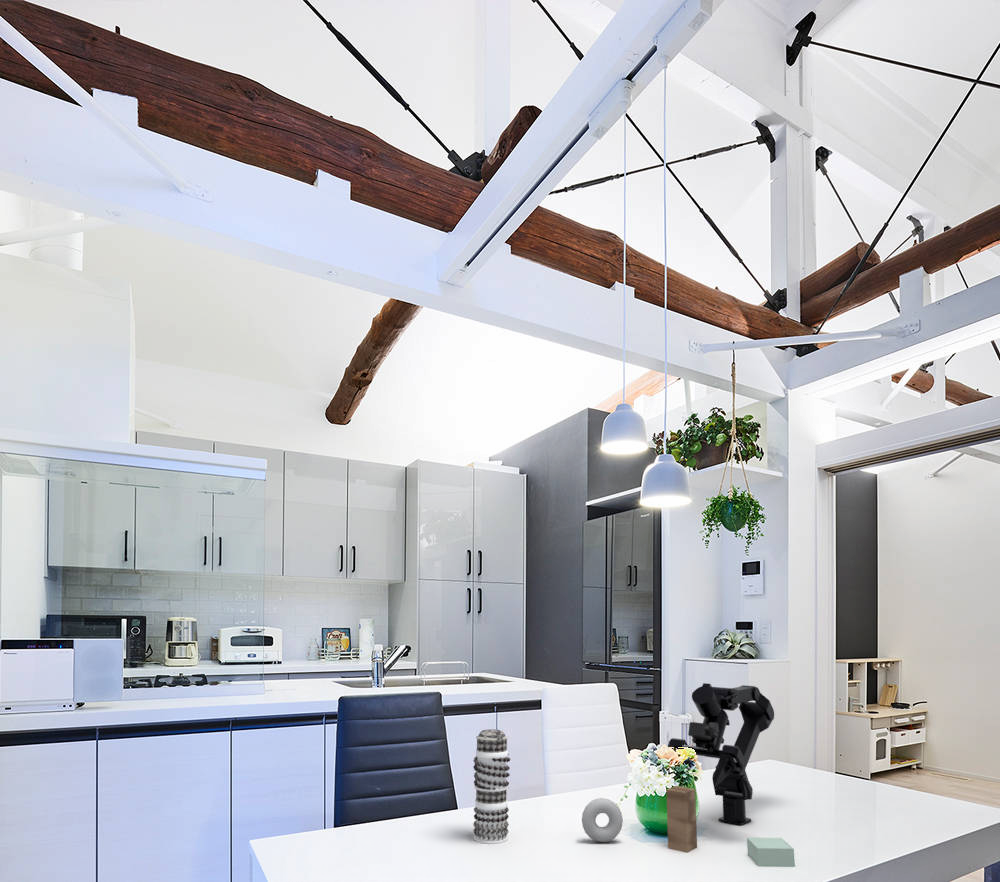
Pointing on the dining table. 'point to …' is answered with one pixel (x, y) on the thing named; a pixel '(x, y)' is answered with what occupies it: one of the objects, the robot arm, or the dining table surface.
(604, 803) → the donut
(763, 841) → the sage slab
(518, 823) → the dining table surface
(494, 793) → the white grey cylinder
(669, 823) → the walnut pillar
